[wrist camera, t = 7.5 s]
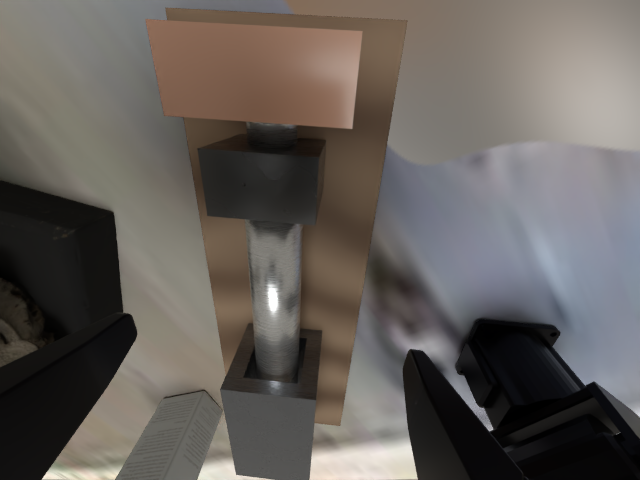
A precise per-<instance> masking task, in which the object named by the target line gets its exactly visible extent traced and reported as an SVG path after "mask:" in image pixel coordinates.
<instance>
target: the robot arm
mask: <svg viewBox="0 0 640 480" xmlns="http://www.w3.org/2000/svg"><path fill="white" fill-rule="evenodd" d="M559 336H560V331H559V330H558V329H557V328H556V327H554V326H545V325H535V324H525V323H515V322H505V321H494V320H484V319H482V320H478V321H477V322H476V323H475V325H474V327H473V330H472V332H471V334H470V336H469V339H468V341H467V342H466V344H465V346H464V349H463V351H462V353H461V355H460V358H459V360H458V363H457V365H456V371H457V373H458V374H459V375H464V376H465V378H466V380H467V383H468V385H469V387H470V390H471V392H472V394H473V396H474V399H475V401H476V403H477V405H478V406H479V407H481V408H484V409H485V411H486V413H487V416H488V418H489V420H490V422H491V425H492V427H493V429H494V430H492V431H490V432H489V431H488V429H487V428H486V427H485V426H484V425H483V423H482V422H481V421H480V420H479V418H478V417H477V416H476V415H475V414H474V412H473V411H472V410H471V409H470V407H469V406H468V405H467V404H466V403H465V401H464V400H463V399H462V398H461V396H460V395H459V394H458V393H457V392H456V390H455V389H454V388H453V387H452V385H451V384H450V383H449V382H448V380H447V379H446V378H445V377H444V376H443V374H442V373H441V372H440V371H439V369H438V368H437V367H436V366H435V365H434V363H433V362H432V361H431V360H430V358H429V357H428V356H427V355H426V354H425V352H423V351H421V350H414V349H410V350H409V351H408V354H407V357H406V360H405V363H404V366H403V381H404V392H405V403H406V413H407V423H408V430H409V436H410V441H411V446H412V451H413V456H414V461H415V467H416V472H417V477H418V480H640V418H639V416H638V415H637V414H635V413H634V412H633V411H632V410H631V409H629V408H628V407H627V406H626V405H624V404H623V403H622V402H620V401H619V400H618V399H616V398H615V397H614V396H613V395H611V394H610V393H609V392H607V391H606V390H605V389H603V388H602V387H601V386H600V385H598V384H597V383H596V382H592V383H590V384H588V385H586V386H585V385H584V384H583V383H582V382H581V380H580V379H579V378H578V377H577V376H576V374H575V373H574V372H573V371H572V370H571V369H570V367H569V366H568V365H567V364H566V363H565V361H564V360H563V359H562V358H561V357H560V355H559V354H558V353H557V352H556V351H555V350H554V348H553V347H552V346H553V345H554V343H555V342H556V340H557V339H558V337H559ZM136 337H137V329H136V326H135V323H134V320H133V317H132V315H131V314H128V313H120V312H119V313H114V314H112V315H110V316H108V317H106V318H104V319H102V320H99V321H97V322H95V323H93V324H91V325H89V326H87V327H84V328H82V329H80V330H78V331H76V332H74V333H72V334H70V335H67V336H65V337H63V338H61V339H59V340H57V341H55V342H53V343H50V344H48V345H46V346H44V347H42V348H40V349H38V350H36V351H33V352H31V353H29V354H27V355H25V356H23V357H21V358H19V359H16V360H14V361H12V362H10V363H8V364H6V365H4V366H1V367H0V480H41V479H42V478H43V477H44V475H45V474H46V472H47V471H48V470H49V468H50V467H51V465H52V464H53V463H54V461H55V460H56V458H57V457H58V456H59V454H60V453H61V451H62V450H63V449H64V447H65V446H66V444H67V443H68V442H69V440H70V439H71V437H72V436H73V435H74V433H75V432H76V430H77V429H78V428H79V426H80V425H81V423H82V422H83V420H84V419H85V418H86V416H87V415H88V413H89V412H90V411H91V409H92V408H93V406H94V405H95V404H96V402H97V401H98V399H99V398H100V397H101V395H102V394H103V392H104V391H105V389H106V388H107V387H108V385H109V383H110V382H111V380H112V379H113V377H114V375H115V374H116V372H117V370H118V369H119V367H120V365H121V363H122V362H123V360H124V358H125V357H126V355H127V353H128V352H129V350H130V348H131V346H132V345H133V343H134V341H135V340H136ZM618 433H619V434H618Z"/></svg>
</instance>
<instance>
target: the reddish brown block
mask: <svg viewBox="0 0 640 480" xmlns="http://www.w3.org/2000/svg"><path fill="white" fill-rule="evenodd" d="M146 25H147V30H148V35H149V40H150V45H151V50H152V55H153V61H154V66H155V71H156V76H157V81H158V86H159V91H160V97H161V102H162V107H163V112H164V116H175V117H189V118H204V119H218V120H232V121H246V122H261V123H275V124H289V125H303V126H318V127H332V128H346V129H352V126H353V117H354V107H355V98H356V88H357V79H358V70H359V60H360V51H361V41H362V32H363V31H352V30H333V29H315V28H297V27H279V26H260V25H242V24H224V23H206V22H187V21H169V20H151V19H146Z"/></svg>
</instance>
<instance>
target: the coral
mask: <svg viewBox="0 0 640 480" xmlns="http://www.w3.org/2000/svg"><path fill="white" fill-rule="evenodd" d="M119 312H120V313H123V307H122V296H121V288H120V272H119V260H118V249H117V240H116V227H115V219H114V213H113V212H111V211H108V210H104V209H100V208H97V207H94V206H89V205H86V204H82V203H78V202H75V201H72V200H68V199H65V198H61V197H58V196H54V195H50V194H47V193H43V192H40V191H36V190H33V189H29V188H25V187H21V186H18V185H14V184H11V183H8V182H4V181H0V367H1V366H4V365H6V364H8V363H10V362H12V361H14V360H16V359H19V358H21V357H23V356H25V355H27V354H29V353H31V352H33V351H36V350H38V349H40V348H42V347H44V346H46V345H48V344H50V343H53V342H55V341H57V340H59V339H61V338H63V337H65V336H67V335H70V334H72V333H74V332H76V331H78V330H80V329H82V328H84V327H87V326H89V325H91V324H93V323H95V322H97V321H99V320H102V319H104V318H106V317H108V316H110V315H112V314H114V313H119Z"/></svg>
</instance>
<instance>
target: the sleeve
mask: <svg viewBox="0 0 640 480" xmlns="http://www.w3.org/2000/svg"><path fill="white" fill-rule="evenodd" d="M321 341H322V330H312V329H303V328H300V334H299V366H298V384H296V383H287V382H278V381H269V380H260V379H257V366H256V354H255V341H254V329H253V323H248V325H247V328H246V330H245V332H244V335H243V337H242V339H241V342H240V344H239V347H238V349H237V351H236V354H235V356H234V358H233V361H232V363H231V365H230V368H229V370H228V372H227V375H226V377H225V379H224V382H223V384H222V386H221V389H220V391H221V396H222V402H223V407H224V412H225V418H226V423H227V428H228V434H229V439H230V444H231V450H232V455H233V460H234V466H235V471H236V475H242V476H250V477H258V478H266V479H274V480H309V478H310V467H311V456H312V445H313V433H314V422H315V411H316V400H317V388H318V376H319V365H320V353H321Z"/></svg>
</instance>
